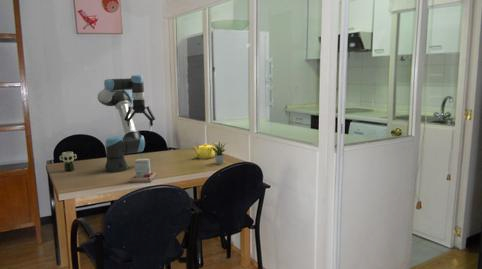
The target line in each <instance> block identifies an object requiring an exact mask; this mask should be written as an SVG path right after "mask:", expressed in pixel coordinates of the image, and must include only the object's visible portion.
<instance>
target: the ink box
mask: <svg viewBox="0 0 482 269" xmlns="http://www.w3.org/2000/svg"><path fill="white" fill-rule="evenodd" d="M134 170H135V175H136V178H149V177H150V176H151V173H152V171H151V170H152V169H151V160H150V158H136V159H135V160H134Z"/></svg>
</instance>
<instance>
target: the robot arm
mask: <svg viewBox="0 0 482 269" xmlns="http://www.w3.org/2000/svg"><path fill="white" fill-rule="evenodd" d="M130 91H131V92H130ZM97 100H98V102H99V103H100V104H101V105H103V106H106V107H115V109H116V110H118V114H119V117H120V122H121V124H122V128H123V131H124V135H114V136H110V137H107V138H106V140H105V141H104V142H105V153H106V162H105V166H104V171H105V172H108V173H118V172H123V171H126V170H128V167H129V166H128V164H127V161H126V159H125V154H133V153H141V152H143V151H144V149H145V146H146V142H145V137H144V135H142V134H141V132H140V131H138V130H137V128H136V124H135V120H134V117H135V115H136V114H143V115H144V116H145V117H146V118H147V119H148V120H149V121H148V126H149V132H152V131H153V128H152V127H153V125H154V124H153V122H154V121H155V120H156V117H155V115H154V114H153V112H152V110H151V106H150V105H148V106H146V105H145V102H146V100H145V88H144V77H143V75H141V74H140V75H139V74H138V75H131V77H129V78H107V79H105V80H104V82H103V89H102V90H100V91H99V92H98V94H97ZM132 110H133V112H132ZM147 112H148V113H147Z"/></svg>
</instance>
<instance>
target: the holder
mask: <svg viewBox="0 0 482 269" xmlns="http://www.w3.org/2000/svg"><path fill="white" fill-rule="evenodd" d="M157 177H158V174H157V172H152V171H151V176H150V177H149V178H136V174H134V175H133V176H132V177H131V178H130V180H129V183H130V182H135V183H152V182H153V181H154V180H155V179H156V178H157ZM135 183H134V184H135Z"/></svg>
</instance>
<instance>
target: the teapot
mask: <svg viewBox="0 0 482 269" xmlns="http://www.w3.org/2000/svg"><path fill="white" fill-rule="evenodd" d="M214 144H216V145H218V142H214ZM214 144H213V145H212V144H211V145H210V144H208V143H203V144H202V145H199V146H198V147H197V146H192V147H193V148H194V152H195V155H196V157H197V159H199V160H200V159H201V160H207V159H213V158H215V154H216V152H215V151H213V149H211V148H210V147H212V148H214V149H216V150H217V148H216V146H215V145H214ZM211 150H212V151H211Z"/></svg>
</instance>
